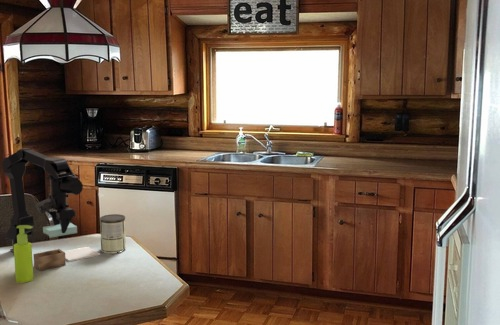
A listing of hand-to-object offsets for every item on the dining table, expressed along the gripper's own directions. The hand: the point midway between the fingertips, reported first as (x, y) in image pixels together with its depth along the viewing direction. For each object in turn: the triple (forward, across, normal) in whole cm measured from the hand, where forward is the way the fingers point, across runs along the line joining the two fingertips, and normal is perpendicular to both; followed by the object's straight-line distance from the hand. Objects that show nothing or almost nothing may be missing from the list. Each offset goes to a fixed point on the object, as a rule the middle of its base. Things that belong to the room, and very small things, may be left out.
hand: (60, 230), depth 216 cm
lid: (0, 0, 0) cm, 0 cm away
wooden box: (+12, +2, -5) cm, 14 cm away
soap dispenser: (+13, +12, -17) cm, 24 cm away
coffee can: (+13, -1, +22) cm, 26 cm away
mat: (+12, -4, +8) cm, 16 cm away
